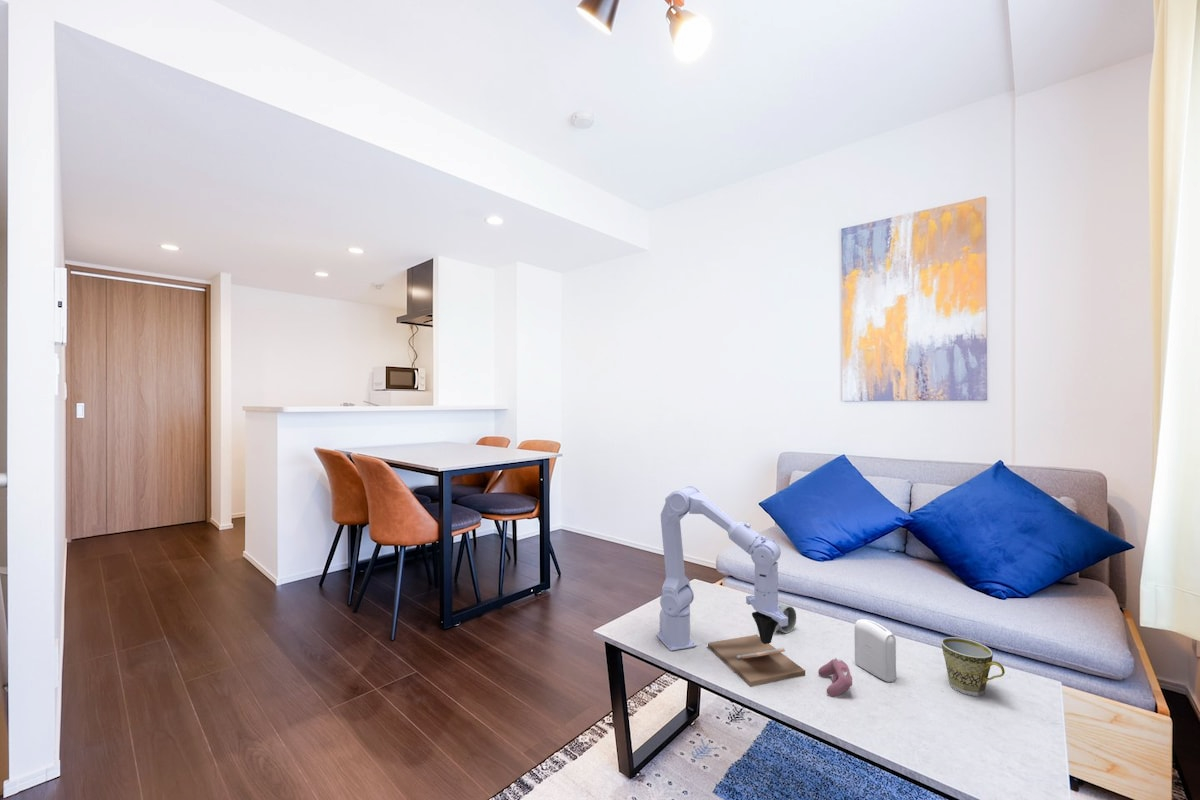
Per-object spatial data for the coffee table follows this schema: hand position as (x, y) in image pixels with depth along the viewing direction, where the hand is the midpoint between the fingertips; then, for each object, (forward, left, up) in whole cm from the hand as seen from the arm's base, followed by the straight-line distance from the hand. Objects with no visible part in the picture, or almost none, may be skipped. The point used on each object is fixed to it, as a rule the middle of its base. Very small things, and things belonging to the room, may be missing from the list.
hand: (766, 642), depth 128 cm
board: (-5, 0, -7) cm, 9 cm away
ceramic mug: (-19, +17, -8) cm, 26 cm away
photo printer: (+9, +26, -7) cm, 29 cm away
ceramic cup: (+23, +41, -7) cm, 48 cm away
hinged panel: (-2, 0, -3) cm, 4 cm away
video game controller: (+11, +12, -8) cm, 18 cm away
